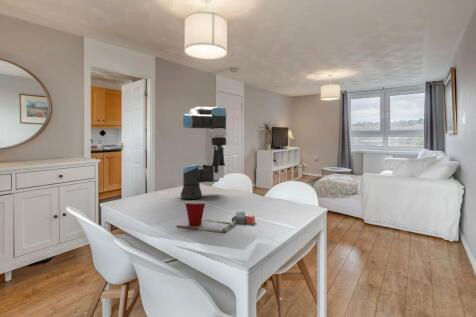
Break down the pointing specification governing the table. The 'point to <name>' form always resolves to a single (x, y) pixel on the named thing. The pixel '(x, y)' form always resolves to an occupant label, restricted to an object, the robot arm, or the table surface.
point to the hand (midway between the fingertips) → (218, 178)
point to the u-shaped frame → (212, 229)
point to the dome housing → (245, 220)
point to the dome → (240, 214)
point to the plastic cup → (195, 212)
